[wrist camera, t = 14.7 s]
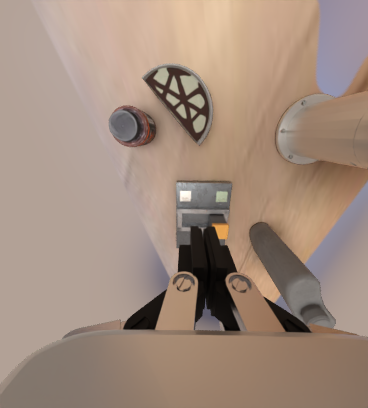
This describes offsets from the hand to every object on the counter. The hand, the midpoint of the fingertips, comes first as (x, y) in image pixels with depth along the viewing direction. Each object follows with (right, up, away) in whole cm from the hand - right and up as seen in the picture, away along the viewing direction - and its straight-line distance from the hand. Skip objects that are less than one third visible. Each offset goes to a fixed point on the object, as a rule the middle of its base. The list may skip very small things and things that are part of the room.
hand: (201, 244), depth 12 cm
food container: (-1, +22, +21) cm, 30 cm away
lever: (+6, -1, +28) cm, 28 cm away
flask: (+20, -8, +33) cm, 39 cm away
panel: (+3, 0, +29) cm, 29 cm away
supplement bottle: (-10, +18, +22) cm, 30 cm away
